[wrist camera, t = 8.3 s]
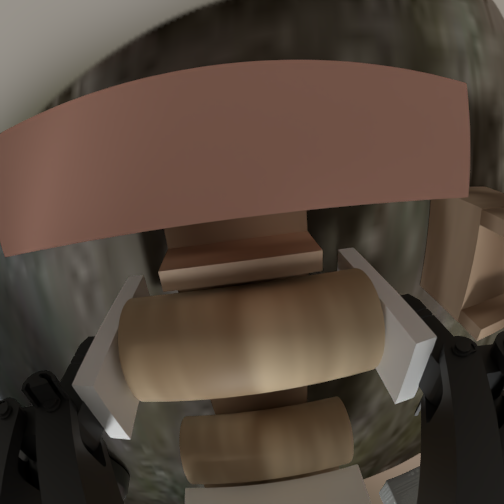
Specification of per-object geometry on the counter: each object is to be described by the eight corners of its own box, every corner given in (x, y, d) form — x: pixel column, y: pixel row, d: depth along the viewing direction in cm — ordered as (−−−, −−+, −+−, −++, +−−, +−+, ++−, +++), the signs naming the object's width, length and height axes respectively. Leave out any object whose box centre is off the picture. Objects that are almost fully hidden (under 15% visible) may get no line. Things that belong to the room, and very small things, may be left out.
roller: (162, 353, 12) (149, 422, 9) (137, 279, 10) (106, 343, 7) (340, 329, 12) (373, 390, 9) (345, 251, 11) (393, 303, 7)
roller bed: (233, 479, 24) (238, 533, 17) (138, 174, 12) (56, 221, 5) (308, 468, 24) (321, 522, 18) (318, 151, 12) (409, 176, 6)
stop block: (138, 174, 12) (5, 257, 4) (131, 130, 11) (-20, 144, 3) (318, 151, 12) (468, 197, 4) (315, 107, 11) (466, 82, 3)
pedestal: (419, 285, 16) (476, 341, 10) (431, 187, 13) (509, 221, 8) (472, 272, 16) (526, 315, 10) (485, 186, 13) (553, 215, 8)
